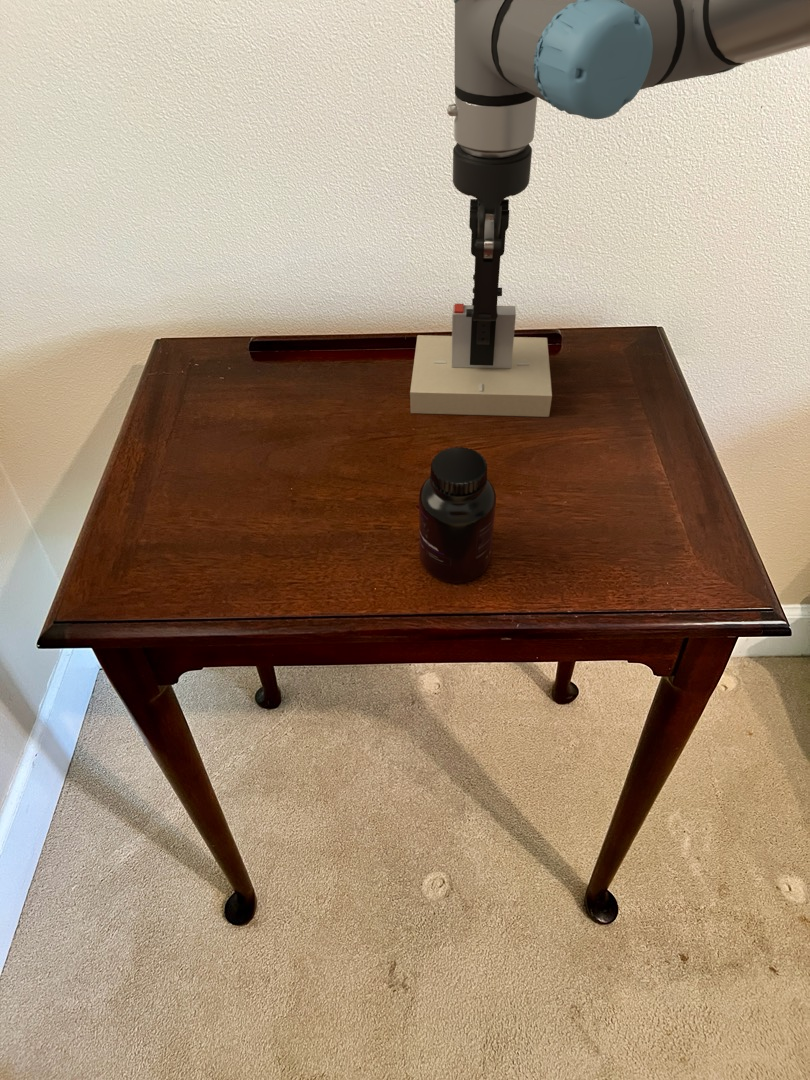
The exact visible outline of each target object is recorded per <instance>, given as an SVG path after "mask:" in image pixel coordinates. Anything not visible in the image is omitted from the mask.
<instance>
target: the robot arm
mask: <svg viewBox="0 0 810 1080" xmlns="http://www.w3.org/2000/svg"><path fill="white" fill-rule="evenodd" d="M453 3H454V80H453V81H454V103H453V104H448V106H447V109H446V112H447V115H448V116H449V117H454V121H453V138H454V141H455V142H456V144H455V145H454V147H453V148H452V183H453V186H454V188H455V189H456V190H457V191H459V193H461V194H463V195H465V196H468V197H470V196H471V197H473V198H470V200H469V222H468V223H469V224H468V226H469V229H470V231H471V234H470V235H471V238H470V253H471V255H472V256H473V257H474V274H473V275H472V281H473V287H472V294H473V298H471V299H472V300H471V305H474V307H473V309H467V310H466V317H472V322H471V347H470V365H490V366H493V361H494V345H495V330H496V320H497V316H498V313H497V306H498V299H499V297H503V287H499V281H500V270H501V269H500V267H501V258H502V256H503V255H505V246H506V234H507V233H506V232H507V231H508V229H509V223H510V222H509V221H510V209H509V208H510V206H509V205H510V199H509V197H514V196H516V195H519V194H521V193H522V192H524V191H525V190H526V189H527V187H528V186H529V184H530V179H531V167H532V156H533V148H532V146H531V145H530V143H532V142H533V140H534V138H535V129H536V118H537V107H538V106H537V105H538V99H540V100H542V101H544V102H546V103H547V104H549V105H551V106H552V107H553V108H556V109H557V110H558V111H560V112H565V113H567V114H568V115H572V116H573V115H574V116H580V117H581V118H586V119H589V120H603V119H607V118H610V117H613V116H615V115H616V114H617V113H619V112H620V110H621V109H622V108H623V107H624V106H625V105H627V104H629V103H630V102H632V101H633V100H634V99H635V97H636V96H637V95H638V93H639V92H640V91H641V90H646V89H648V88H654V87H656V86H659V85H664V84H670V83H675V82H680V81H684V80H689V79H694V78H695V79H696V78H701V77H708V76H713V75H717V74H722V73H727V72H728V71H731V70H733V69H735V68H737V67H741V66H743V65H745V64H748V63H751V62H755V61H759V60H763V59H766V58H770V57H773V56H777V55H781V54H786V53H788V52H793V51H797V50H799V49H803V48H808V47H810V0H453Z"/></svg>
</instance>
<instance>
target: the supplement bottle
mask: <svg viewBox="0 0 810 1080" xmlns="http://www.w3.org/2000/svg"><path fill="white" fill-rule="evenodd" d="M496 507H497V494H496V490H495V488H494V486H493V484H492V482H491V481H490V480H489V479H488V463H487V461H486V459H485V457H484V456H483V455H482V454H481V452H480V453H479V452H478V451H477V450H474V449H472V448H468V447H463V446H459V447H458V446H454V447H449V448H445V449H443V450H440V451H439V452H438V453H436V455H434V457H433V459H432V460H431V462H430V473H429V476H428V477H427V479H426V480H425V481H424V482H423V484H422V486H421V488H420V490H419V495H418V519H419V520H418V548H419V549H418V551H419V561H420V563H421V565H422V567H423V568H424V569H425V571H426V572H427V573H428V574H429V575H431V576H432V577H434V578H435V579H437V580H439V581H442V582H444V583H445V582H446V583H451V584H452V583H453V584H458V583H459V584H460V583H466V582H469V581H472V580H474V579H476V578H478V577H480V575H482V574H483V573H484V572H485V571H486V570H487V568H488V566H489V564H490V561H491V556H492V547H493V538H494V537H493V536H494V527H495V519H496V518H495V516H496Z"/></svg>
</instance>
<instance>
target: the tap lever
mask: <svg viewBox="0 0 810 1080" xmlns="http://www.w3.org/2000/svg"><path fill="white" fill-rule="evenodd" d="M473 307H474V305H472V304H464V303H454V304H453V305H452V313H451V314H452V315H451V316H452V317H451V336H452V361H451V367H463V368H508V369H511V365H512V353H513V342H514V337H515V328H516V319H517V309H516V305H497V313H498V316H497V320H496V330H495V345H494V361H493V366H490V365H470V347H471V322H472V317H466V310H467V309H473Z"/></svg>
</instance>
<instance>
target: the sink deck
mask: <svg viewBox="0 0 810 1080" xmlns="http://www.w3.org/2000/svg"><path fill="white" fill-rule="evenodd" d="M451 361H452V335H430V334H429V335H423V334H422V335H420V334H418V335H417V336H416V344H415V351H414V359H413V368H412V374H411V375H412V376H411V381H410V382H411V383H410V388H409V389H410V391H409V398H410V405H409V406H410V407H409V408H410V414H423V415H424V414H429V415H466V416H497V417H498V416H501V417H502V416H503V417H536V418H538V417H540V418H549V417H550V414H551V407H552V399H553V392H552V391H553V389H552V377H551V369H550V368H551V366H550V365H551V364H550V356H549V342H548V337H536V336H535V337H531V336H529V337H528V336H514V342H513V353H512V365H511V369H508V368H463V367H451Z"/></svg>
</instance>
